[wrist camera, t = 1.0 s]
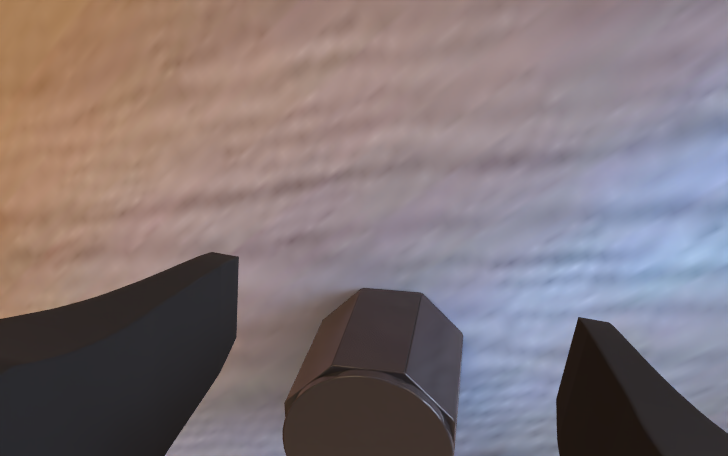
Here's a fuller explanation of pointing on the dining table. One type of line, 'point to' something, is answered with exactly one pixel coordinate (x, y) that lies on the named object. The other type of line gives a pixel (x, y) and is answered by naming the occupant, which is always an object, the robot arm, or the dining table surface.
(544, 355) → the dining table surface
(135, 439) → the robot arm
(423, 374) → the faceted brown jar
